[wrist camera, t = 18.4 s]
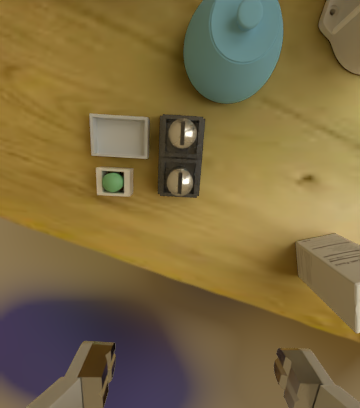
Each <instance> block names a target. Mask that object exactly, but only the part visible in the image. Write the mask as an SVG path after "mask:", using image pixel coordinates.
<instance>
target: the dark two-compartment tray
mask: <svg viewBox="0 0 360 408" xmlns="http://www.w3.org/2000/svg"><path fill="white" fill-rule="evenodd" d="M180 118H185V119H188V120H190V121H191V122H192V123H193V124H194V125H195V127H196V131H197V135H196V139H195V141H194V143H193V144H192V145H190V146H189V147H188V148H186V149H183V150H181V149H177V148H175V147H174V146H173V145H172V143H171V141H170V139H169V128H170V126H171V124H172V123H173V122H174V121H175V120H177V119H180ZM204 127H205V119H203V117H196V116H181V115H165V114H163V116H160V137H159V170H158V194H160V196H175V197H193V198H197V196H199V188H200V175H201V163H202V151H203V139H204ZM179 166H180V167H184V168H186V169H187V170H188V171H189V173H190V175H191V176H192V179H193V187H192V189H191V191H190V192H189V193H188V194H186V195H184V196H176V195H174V194H172V193H171V192H170V191H169V189H168V187H167V179H168V176H169V174H170V172H171V170H172V169H173V168H175V167H179Z"/></svg>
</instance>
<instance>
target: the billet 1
mask: <svg viewBox="0 0 360 408" xmlns="http://www.w3.org/2000/svg"><path fill="white" fill-rule="evenodd" d="M196 135H197V131H196V127H195V125H194V124H193V123H192V122H191V121H190V120H188V119H185V118H180V119H177V120H175V121H174V122H173V123H172V124H171V126H170V128H169V139H170V141H171V143H172V145H173V146H174V147H175V148H177V149H181V150H183V149H186V148H188V147H189V146H190V145H192V144H193V143H194V141H195V139H196Z"/></svg>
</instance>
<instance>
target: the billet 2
mask: <svg viewBox="0 0 360 408" xmlns="http://www.w3.org/2000/svg"><path fill="white" fill-rule="evenodd" d="M167 187H168V189H169V191H170V192H171V193H172V194H174V195H176V196H184V195H186V194H188V193H189V192H190V191H191V189H192V187H193V179H192V176H191V175H190V173H189V171H188V170H187V169H186V168H184V167H180V166H179V167H175V168H173V169H172V170H171V172H170V174H169V176H168V179H167Z"/></svg>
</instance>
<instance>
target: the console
mask: <svg viewBox="0 0 360 408" xmlns="http://www.w3.org/2000/svg"><path fill="white" fill-rule="evenodd" d="M107 171H117V172H124V191H122V190H118V191H116V192H109V191H107V190H106V189H105V188H104V187H103V185H102V180H103V177H104V176H105V175H106V174H108V173H107ZM96 183H97V195H108V196H126V197H130V196H131V195H132V194H133V168H120V167H96Z"/></svg>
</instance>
